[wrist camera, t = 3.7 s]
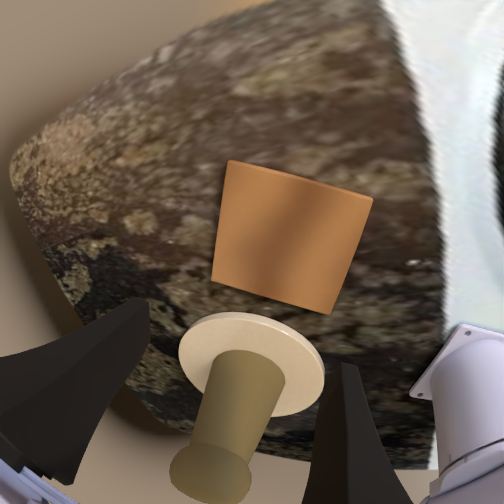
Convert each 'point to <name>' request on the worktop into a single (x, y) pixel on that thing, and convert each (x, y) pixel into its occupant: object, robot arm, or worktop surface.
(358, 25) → the worktop surface
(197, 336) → the plate
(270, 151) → the worktop surface
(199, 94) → the worktop surface
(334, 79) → the worktop surface
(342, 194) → the cork trivet
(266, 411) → the pepper shaker
